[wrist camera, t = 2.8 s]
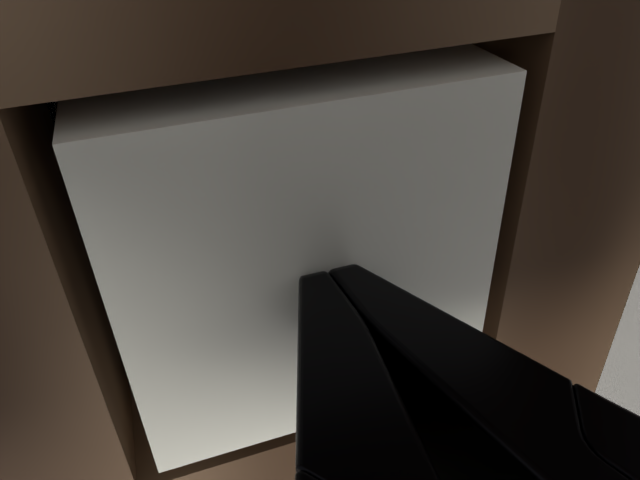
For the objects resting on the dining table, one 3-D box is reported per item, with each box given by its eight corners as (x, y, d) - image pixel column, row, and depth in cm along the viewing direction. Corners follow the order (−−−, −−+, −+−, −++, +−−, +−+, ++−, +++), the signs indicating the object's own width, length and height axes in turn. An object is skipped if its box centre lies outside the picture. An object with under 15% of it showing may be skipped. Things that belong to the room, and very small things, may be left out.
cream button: (418, 17, 10) (526, 70, 7) (402, 281, 13) (474, 378, 10) (63, 61, 8) (52, 145, 6) (144, 344, 11) (158, 472, 9)
